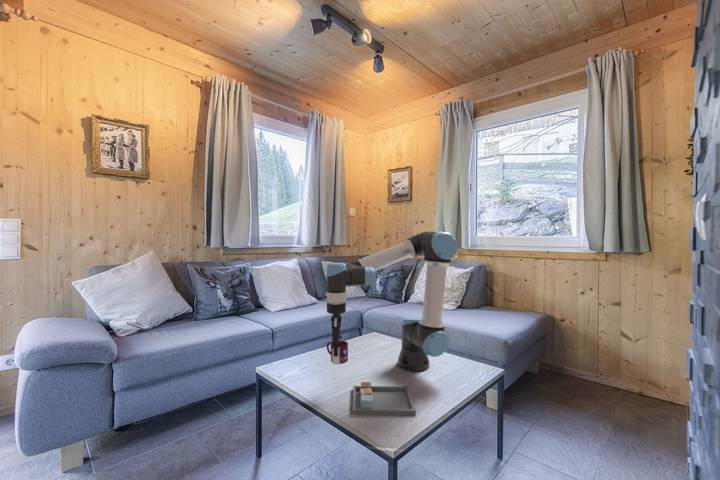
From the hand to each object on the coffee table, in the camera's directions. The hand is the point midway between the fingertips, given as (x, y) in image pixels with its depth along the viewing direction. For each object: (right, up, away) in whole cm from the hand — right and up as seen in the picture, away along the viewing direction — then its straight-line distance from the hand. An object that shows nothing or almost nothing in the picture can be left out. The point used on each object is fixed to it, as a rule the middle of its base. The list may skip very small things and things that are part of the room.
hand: (336, 359), depth 130 cm
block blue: (+12, -14, -11) cm, 21 cm away
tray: (+18, -14, -6) cm, 23 cm away
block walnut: (+12, -13, -1) cm, 18 cm away
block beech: (+12, -13, -6) cm, 19 cm away
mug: (0, 0, +1) cm, 1 cm away
